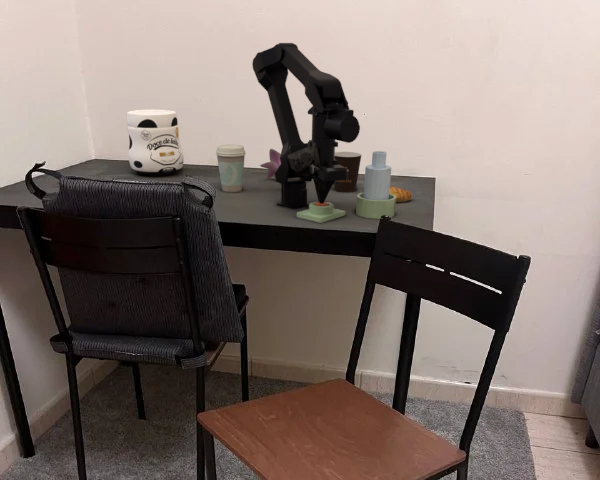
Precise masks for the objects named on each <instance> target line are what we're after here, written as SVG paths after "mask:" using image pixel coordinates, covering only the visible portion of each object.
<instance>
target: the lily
mask: <svg viewBox="0 0 600 480" xmlns="http://www.w3.org/2000/svg"><path fill="white" fill-rule="evenodd" d="M268 154H269V155H268V156H269V161H267V162H264V163H262V164H260V165H259V167H261V168H264V169H267V173H266V179H267V180H269V179H271V178H273V177H275V172H276V171H277V169H278V167H279V166H280V164H281V162H280V155H281V152H279V151H277V150H275V149H274V148H270V149H269V152H268Z"/></svg>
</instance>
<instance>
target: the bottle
mask: <svg viewBox="0 0 600 480" xmlns="http://www.w3.org/2000/svg"><path fill="white" fill-rule="evenodd" d="M387 154H388V153H387V152H386V151H383V150H375V151H372V155H371V164H369V165H365V168H364V171H365V172H364V183H363V192H364V197H363V198H364V199H369V200H389V190H390V187H391V179H392V167H391V166H389V165H386V164H387Z"/></svg>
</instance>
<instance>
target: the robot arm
mask: <svg viewBox="0 0 600 480" xmlns="http://www.w3.org/2000/svg"><path fill="white" fill-rule="evenodd" d="M251 65H252V70H253V72H254V75H255V77H256V79H257V82H258V84H259V85H260V86H261V87H262V88H263V89H264V90H265V91H266V93H267V96H268V99H269V103H270V106H271V111H272V113H273V117H274V120H275V124H276V127H277V131H278V134H279V138H280V142H281V145H282V148H281V152H280V154H281V155H280V162H281V164H280V166H279V167H278V169H277V171H276V172H275V176H274V178H275V183H278V184H280V196H281V197H280V201H279V202H277V203H276V204H277V206H280V207H283V208H288V209H293V210H297V209H300V208H303V207H307V206H309V204H310V203H311V202H308V188H307V182H308V183H310V182H313V183H314V188H315V192H316V196H317V202H319V203H324V202H326V199H327V197H328V195H329V194H330V191H331V189H332V187H334V182H335V181H337V180H347V179H348V171H347V170H346V168H345V167H343V166H341V165H337V160H335V159H334V158H335V152H336V148H338V147H339V142H343V143H347V144H350V143H353V142H354V141H356V140H357V138H358V136H359V135H360V131H361V125H360V122H359V120H358V118H357V117H356V116H355V115H354V112H355V111H354V109H350V107H349V106H350V105H349V101H348V99H347V97H346V94H345V92H344V88H343V86H342V82H341V81H340V79H339V78H338V77H336V76H334V75H332V74H331V73H327V72H324V71H321V70H320V69H319V68H318V67H316V65H315V64H314V63H313V62H312V61H311V60H310V59H309V58H308V57H307V56H306V55H305V54H304V53H303V52H302V51H300V49H299V47H298V45H297V44H295V43H294V42H279V43H277V44H275V45H273V47H270V48H267V49H265V50H263V51H258V52H257V53H256V54H255V56H254V58H253V59H252V63H251ZM289 72H290V74H291V75H293V76H294V77H295V79H297V80H298V81H299V83H300V84H301V85H302V86H303V87H304V95H305V96H306V98H307V100H308V101H309V102H310V104H311V105H312V106H311V107H310V108H309V109H308V110H307V114H308V115H311V139H309V140H308V141H307V142H304V141H302V139H301V136H300V131H299V129H298V124H297V121H296V117H295V115H294V111H293V107H292V102H291V99H290V96H289V93H288V89H287V86H286V84H287V81H288V76H289ZM338 141H339V142H338Z"/></svg>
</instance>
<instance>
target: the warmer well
mask: <svg viewBox="0 0 600 480" xmlns="http://www.w3.org/2000/svg"><path fill="white" fill-rule="evenodd" d="M363 197H364V191H363V192H359V193H357V194H356V204H355V205H356V206H355V207H356V208H355V214H356V215H357V216H359V217H362V218H367V219H378V220H379V219H380V218H381V216H382V215H386V216H389V218H392V217H394V216H395V213H396V203H397V202H396V196H395V195H393V194H390V193H389V200H369V199H364V198H363ZM381 219H382V218H381Z"/></svg>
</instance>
